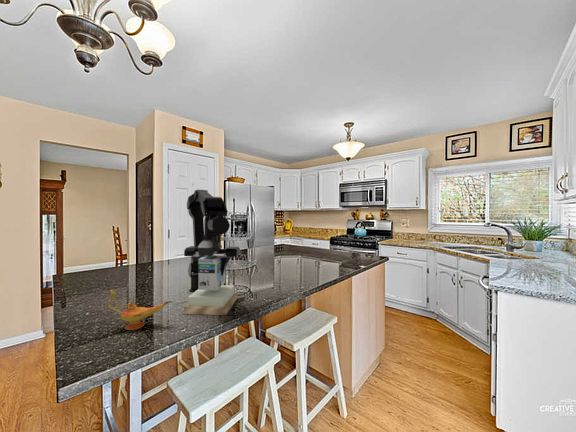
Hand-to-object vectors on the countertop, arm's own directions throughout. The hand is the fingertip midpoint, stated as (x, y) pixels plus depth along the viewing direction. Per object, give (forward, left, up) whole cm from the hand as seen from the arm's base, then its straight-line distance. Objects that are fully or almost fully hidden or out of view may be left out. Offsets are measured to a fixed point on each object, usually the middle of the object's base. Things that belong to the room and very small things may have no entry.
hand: (212, 275), depth 93 cm
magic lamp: (-16, -17, -11) cm, 26 cm away
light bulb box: (0, 0, -4) cm, 4 cm away
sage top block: (0, 0, -9) cm, 9 cm away
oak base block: (0, 0, -12) cm, 12 cm away
